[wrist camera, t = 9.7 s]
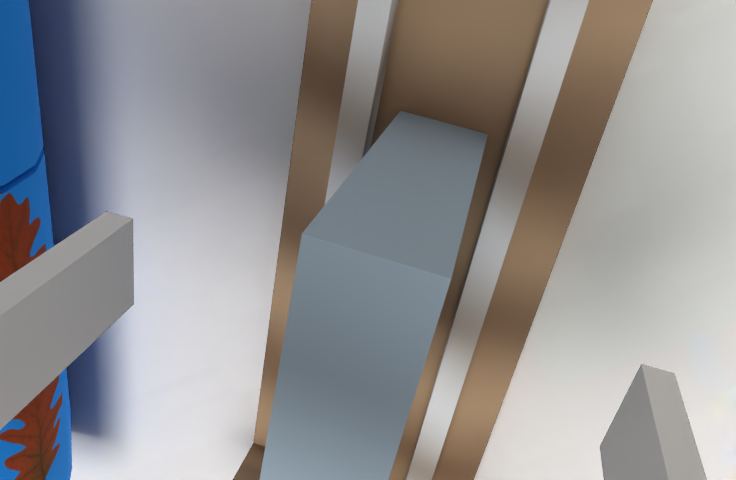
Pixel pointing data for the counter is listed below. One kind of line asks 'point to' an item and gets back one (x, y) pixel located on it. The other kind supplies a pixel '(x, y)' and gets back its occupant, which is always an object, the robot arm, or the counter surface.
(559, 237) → the track board
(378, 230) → the grey rectangular block
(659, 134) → the counter surface
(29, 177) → the thermos
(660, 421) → the robot arm
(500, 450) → the counter surface
